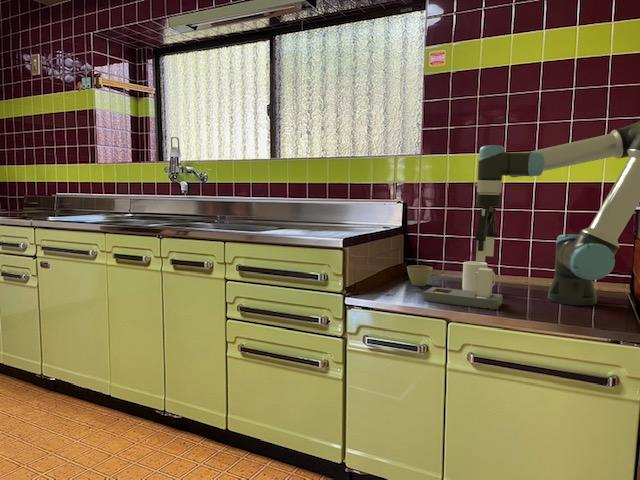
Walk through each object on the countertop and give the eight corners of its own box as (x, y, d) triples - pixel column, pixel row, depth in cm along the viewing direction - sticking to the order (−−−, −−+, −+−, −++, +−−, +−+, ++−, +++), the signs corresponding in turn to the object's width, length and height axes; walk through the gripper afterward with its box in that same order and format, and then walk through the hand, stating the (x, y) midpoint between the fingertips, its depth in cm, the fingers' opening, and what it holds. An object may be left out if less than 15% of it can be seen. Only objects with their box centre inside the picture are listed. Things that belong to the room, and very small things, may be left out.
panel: (502, 303, 164) (502, 294, 164) (496, 309, 156) (497, 300, 155) (432, 294, 176) (432, 286, 176) (423, 300, 168) (424, 291, 167)
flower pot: (431, 288, 188) (431, 269, 187) (405, 286, 191) (405, 268, 190) (432, 283, 197) (433, 265, 197) (407, 281, 200) (408, 264, 199)
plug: (491, 304, 163) (492, 268, 162) (488, 306, 160) (490, 270, 158) (475, 302, 166) (477, 267, 164) (473, 304, 162) (474, 269, 161)
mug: (491, 295, 176) (493, 266, 175) (458, 291, 182) (460, 263, 181) (498, 291, 183) (499, 263, 182) (466, 287, 190) (467, 260, 188)
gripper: (484, 193, 171) (481, 253, 173) (467, 193, 149) (464, 262, 152) (507, 194, 167) (503, 255, 170) (493, 194, 146) (489, 264, 148)
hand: (484, 258), depth 161 cm, fingers open, 13 cm apart
